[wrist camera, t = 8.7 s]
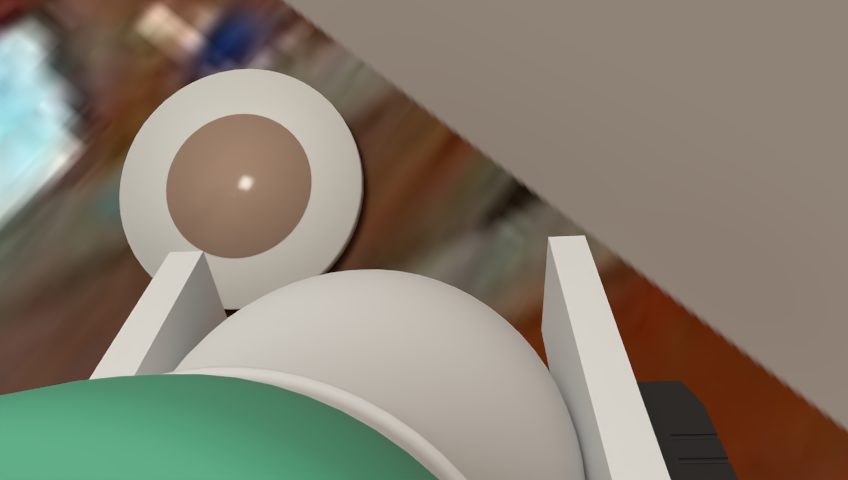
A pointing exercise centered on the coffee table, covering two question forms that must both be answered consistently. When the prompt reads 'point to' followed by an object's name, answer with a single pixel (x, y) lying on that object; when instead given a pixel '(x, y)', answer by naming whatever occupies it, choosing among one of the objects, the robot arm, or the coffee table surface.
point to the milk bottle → (314, 397)
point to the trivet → (244, 182)
